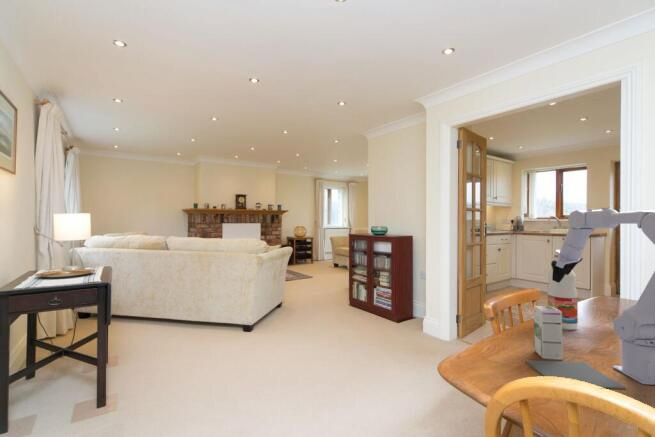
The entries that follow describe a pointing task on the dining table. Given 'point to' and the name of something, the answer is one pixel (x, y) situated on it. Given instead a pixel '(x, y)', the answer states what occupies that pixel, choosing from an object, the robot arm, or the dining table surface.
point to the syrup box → (548, 332)
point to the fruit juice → (564, 298)
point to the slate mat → (574, 372)
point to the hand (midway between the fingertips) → (560, 277)
